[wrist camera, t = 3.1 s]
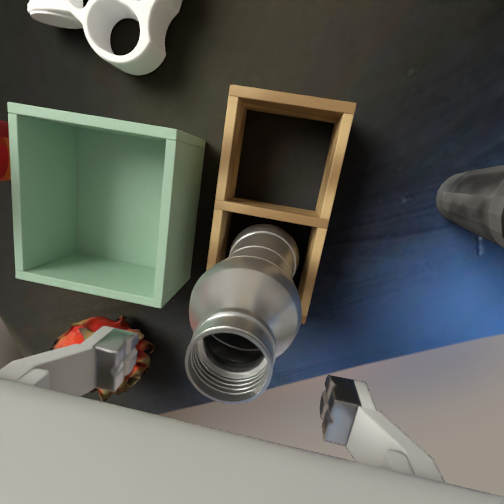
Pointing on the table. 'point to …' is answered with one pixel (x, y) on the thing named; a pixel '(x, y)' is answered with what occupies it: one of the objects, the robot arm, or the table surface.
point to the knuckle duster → (104, 19)
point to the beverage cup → (475, 202)
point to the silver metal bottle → (244, 316)
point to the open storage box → (103, 203)
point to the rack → (227, 203)
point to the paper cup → (4, 152)
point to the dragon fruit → (90, 326)
